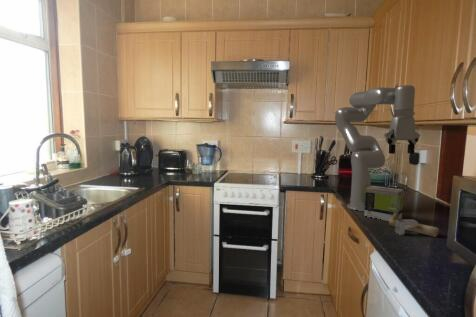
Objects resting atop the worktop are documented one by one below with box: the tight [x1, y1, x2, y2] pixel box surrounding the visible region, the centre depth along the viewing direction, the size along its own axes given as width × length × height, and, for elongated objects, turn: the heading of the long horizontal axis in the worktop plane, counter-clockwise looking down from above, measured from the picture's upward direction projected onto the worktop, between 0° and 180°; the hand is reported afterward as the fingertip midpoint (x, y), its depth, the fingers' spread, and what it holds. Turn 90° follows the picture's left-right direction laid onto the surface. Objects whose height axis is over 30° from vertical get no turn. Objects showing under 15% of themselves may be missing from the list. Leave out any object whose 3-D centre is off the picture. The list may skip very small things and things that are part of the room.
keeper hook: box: [394, 218, 419, 236], centre depth 121 cm, size 3×8×6 cm, turn 93°
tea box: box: [363, 185, 405, 222], centre depth 142 cm, size 15×10×15 cm
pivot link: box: [388, 213, 440, 238], centre depth 126 cm, size 18×5×6 cm, turn 43°
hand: (401, 153), depth 128 cm, fingers open, 9 cm apart
